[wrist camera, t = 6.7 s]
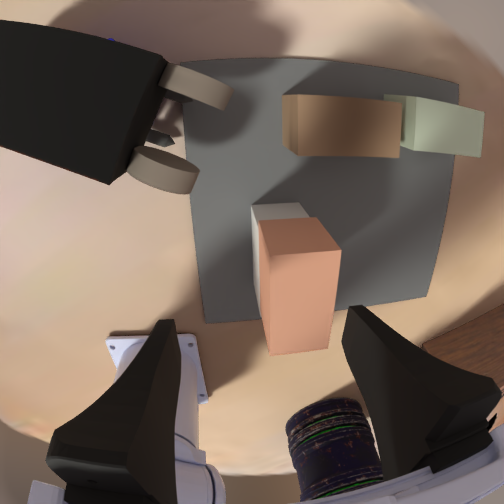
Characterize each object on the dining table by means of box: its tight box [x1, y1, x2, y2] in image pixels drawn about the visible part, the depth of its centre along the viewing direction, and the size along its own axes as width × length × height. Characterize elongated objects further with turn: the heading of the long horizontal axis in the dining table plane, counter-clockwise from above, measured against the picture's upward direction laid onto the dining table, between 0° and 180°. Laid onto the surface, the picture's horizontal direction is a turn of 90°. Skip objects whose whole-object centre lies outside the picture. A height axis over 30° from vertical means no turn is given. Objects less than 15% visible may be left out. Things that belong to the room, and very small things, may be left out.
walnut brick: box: [282, 95, 402, 158], centre depth 17 cm, size 6×3×4 cm, turn 92°
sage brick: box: [384, 94, 485, 158], centre depth 17 cm, size 6×3×4 cm, turn 92°
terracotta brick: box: [258, 217, 342, 356], centre depth 17 cm, size 6×3×4 cm, turn 1°
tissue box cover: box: [422, 304, 504, 433], centre depth 32 cm, size 26×14×10 cm, turn 14°
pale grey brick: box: [251, 202, 309, 316], centre depth 21 cm, size 6×3×4 cm, turn 1°
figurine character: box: [0, 20, 234, 194], centre depth 14 cm, size 7×8×15 cm
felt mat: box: [180, 58, 459, 324], centre depth 21 cm, size 19×20×1 cm
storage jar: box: [286, 398, 384, 502], centre depth 28 cm, size 10×10×15 cm
